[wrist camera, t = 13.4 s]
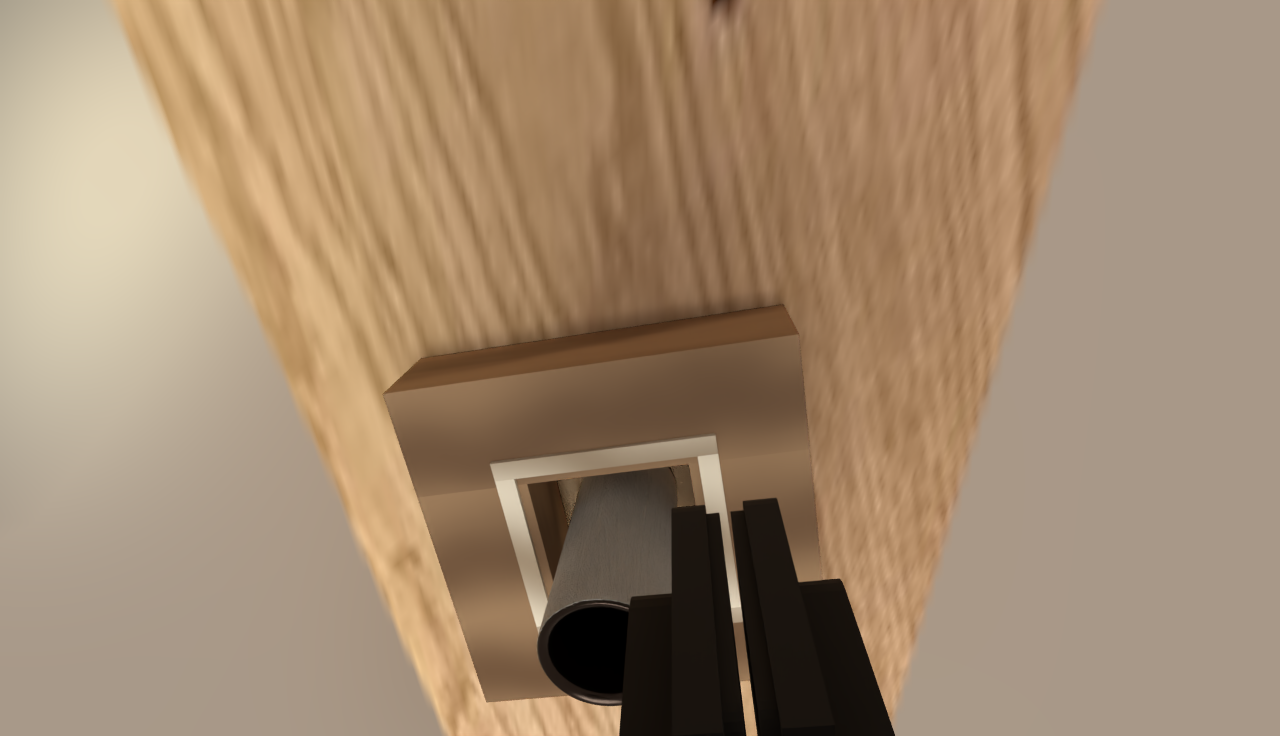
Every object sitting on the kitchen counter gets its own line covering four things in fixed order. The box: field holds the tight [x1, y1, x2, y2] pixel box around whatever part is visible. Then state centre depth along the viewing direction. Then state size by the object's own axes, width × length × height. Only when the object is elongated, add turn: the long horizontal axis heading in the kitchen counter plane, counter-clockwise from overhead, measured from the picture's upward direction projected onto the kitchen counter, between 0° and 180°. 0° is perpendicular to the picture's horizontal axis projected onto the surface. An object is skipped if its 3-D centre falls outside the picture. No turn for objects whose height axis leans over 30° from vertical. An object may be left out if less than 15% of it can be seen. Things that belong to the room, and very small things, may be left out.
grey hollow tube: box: [537, 467, 677, 706], centre depth 26 cm, size 4×4×10 cm
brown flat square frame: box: [383, 305, 822, 702], centre depth 29 cm, size 16×16×4 cm
